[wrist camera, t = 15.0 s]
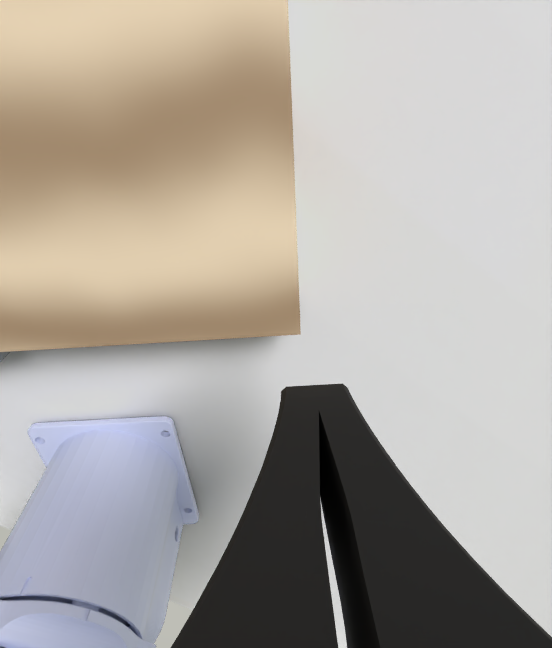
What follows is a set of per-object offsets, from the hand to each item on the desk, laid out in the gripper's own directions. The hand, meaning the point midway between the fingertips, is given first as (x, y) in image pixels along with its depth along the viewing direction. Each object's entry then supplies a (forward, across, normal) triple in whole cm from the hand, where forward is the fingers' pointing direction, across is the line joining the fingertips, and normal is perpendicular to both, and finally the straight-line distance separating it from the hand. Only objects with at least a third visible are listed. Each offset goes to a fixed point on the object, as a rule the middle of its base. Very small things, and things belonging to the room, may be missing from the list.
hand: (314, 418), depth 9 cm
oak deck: (+10, +6, -5) cm, 13 cm away
